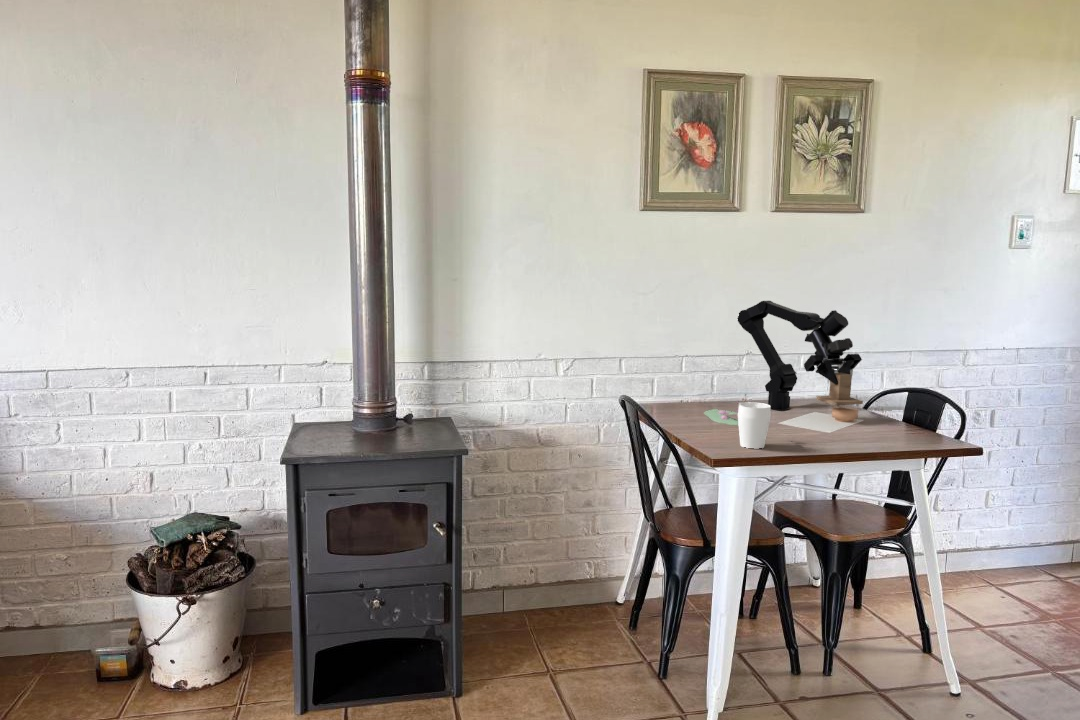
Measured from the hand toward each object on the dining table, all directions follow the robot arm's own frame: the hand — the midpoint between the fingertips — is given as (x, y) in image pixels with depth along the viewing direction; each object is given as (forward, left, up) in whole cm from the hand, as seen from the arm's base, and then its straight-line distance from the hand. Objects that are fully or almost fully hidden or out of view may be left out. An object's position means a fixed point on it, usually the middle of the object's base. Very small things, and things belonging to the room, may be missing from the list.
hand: (843, 383), depth 255 cm
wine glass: (-11, +24, -14) cm, 30 cm away
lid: (-1, +1, -6) cm, 6 cm away
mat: (-4, -4, -13) cm, 15 cm away
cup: (-5, -47, -14) cm, 49 cm away
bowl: (0, +4, -12) cm, 13 cm away
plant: (-29, -16, -14) cm, 36 cm away
